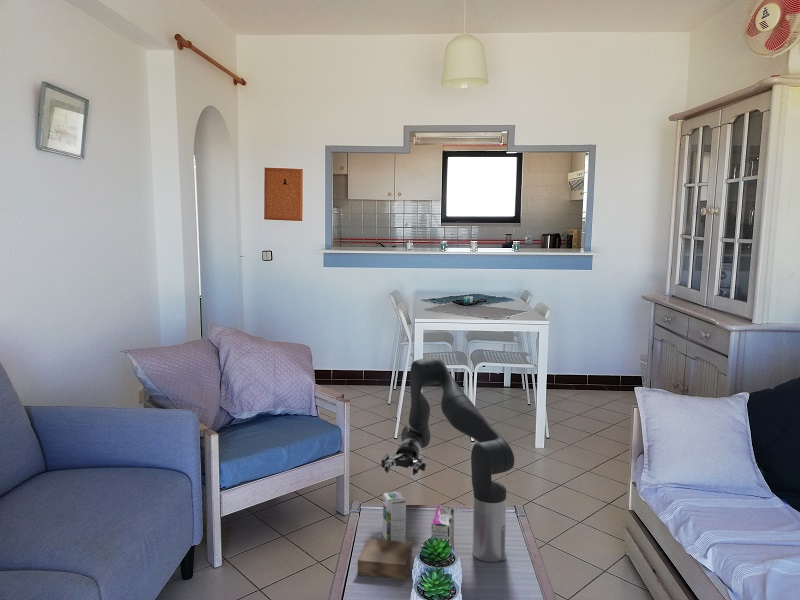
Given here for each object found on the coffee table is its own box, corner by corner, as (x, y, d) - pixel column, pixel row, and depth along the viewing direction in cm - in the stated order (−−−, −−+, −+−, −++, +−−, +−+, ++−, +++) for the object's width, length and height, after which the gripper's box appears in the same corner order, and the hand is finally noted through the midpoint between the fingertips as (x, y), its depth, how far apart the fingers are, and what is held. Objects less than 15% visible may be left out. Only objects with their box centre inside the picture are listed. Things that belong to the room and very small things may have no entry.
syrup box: (382, 539, 186) (382, 492, 185) (400, 536, 188) (400, 490, 186) (387, 548, 181) (387, 500, 179) (406, 545, 182) (406, 498, 181)
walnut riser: (412, 556, 176) (412, 542, 176) (405, 579, 164) (405, 564, 164) (367, 551, 178) (367, 538, 178) (357, 574, 167) (357, 560, 166)
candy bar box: (436, 561, 174) (437, 505, 172) (454, 562, 173) (455, 506, 171) (430, 582, 163) (431, 523, 161) (449, 585, 162) (450, 525, 160)
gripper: (388, 440, 210) (378, 457, 194) (429, 443, 208) (423, 461, 192) (387, 461, 211) (378, 480, 195) (429, 464, 208) (422, 484, 193)
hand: (400, 470), depth 193 cm, fingers open, 8 cm apart
